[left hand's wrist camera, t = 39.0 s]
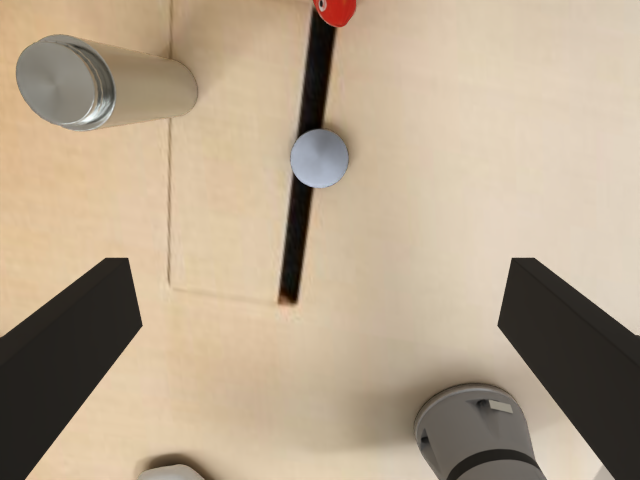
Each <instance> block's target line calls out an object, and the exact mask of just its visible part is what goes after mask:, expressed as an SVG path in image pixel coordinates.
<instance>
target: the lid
mask: <svg viewBox="0 0 640 480" xmlns="http://www.w3.org/2000/svg"><path fill="white" fill-rule="evenodd" d="M290 161H291V167H292V170H293V172H294V174H295V175H296V177H297V178H298V179H299V180H300V181H301V182H303V183H304V184H306V185H308V186H310V187H314V188H325V187H329V186H331V185H333V184H335V183H336V182H338V181H339V180H340V179H341V178H342V177H343V175H344V174H345V172H346V170H347V167H348V161H349V156H348V150H347V148H346V145H345V143H344V142H343V140H342V139H341V137H340V136H339V135H337V134H336V133H335V132H333V131H331V130H329V129H325V128H314V129H310V130H308V131H306V132H304V133H303V134H301V135H300V136H299V137H298V139H297V140H296V142H295V143H294V145H293V148H292V151H291V156H290Z"/></svg>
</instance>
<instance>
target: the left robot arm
mask: <svg viewBox="0 0 640 480" xmlns="http://www.w3.org/2000/svg"><path fill="white" fill-rule="evenodd" d="M142 326H143V325H142V320H141V316H140V311H139V306H138V302H137V297H136V292H135V288H134V283H133V278H132V274H131V269H130V264H129V260H128V258H105V259H104V260H102V261H101V262H100V263H98V264H97V265H96V266H94V267H93V268H92V269H90V270H89V271H88V272H87V273H85V274H84V275H83V276H81V277H80V278H79V279H77V280H76V281H75V282H73V283H72V284H71V285H70V286H68V287H67V288H66V289H64V290H63V291H62V292H60V293H59V294H58V295H56V296H55V297H54V298H53V299H51V300H50V301H49V302H47V303H46V304H45V305H43V306H42V307H41V308H39V309H38V310H37V311H36V312H34V313H33V314H32V315H30V316H29V317H28V318H26V319H25V320H24V321H22V322H21V323H20V324H19V325H17V326H16V327H15V328H13V329H12V330H11V331H9V332H8V333H7V334H6V335H4V336H3V337H0V480H25V479H26V477H27V476H28V475H29V474H30V472H31V471H32V470H33V468H34V467H35V466H36V464H37V463H38V462H39V460H40V459H41V458H42V457H43V455H44V454H45V453H46V451H47V450H48V449H49V447H50V446H51V445H52V443H53V442H54V441H55V440H56V438H57V437H58V436H59V434H60V433H61V432H62V430H63V429H64V428H65V426H66V425H67V424H68V423H69V421H70V420H71V419H72V417H73V416H74V415H75V413H76V412H77V411H78V409H79V408H80V407H81V406H82V404H83V403H84V402H85V400H86V399H87V398H88V396H89V395H90V394H91V392H92V391H93V390H94V389H95V387H96V386H97V385H98V383H99V382H100V381H101V379H102V378H103V377H104V375H105V374H106V373H107V372H108V370H109V369H110V368H111V366H112V365H113V364H114V362H115V361H116V360H117V358H118V357H119V356H120V355H121V353H122V352H123V351H124V349H125V348H126V347H127V345H128V344H129V343H130V342H131V340H132V339H133V338H134V336H135V335H136V334H137V332H138V331H139V330H140V328H141V327H142ZM497 326H498V327H499V328H500V330H501V331H502V332H503V334H504V335H505V336H506V338H507V339H508V340H509V342H510V343H511V344H512V345H513V347H514V348H515V349H516V351H517V352H518V353H519V355H520V356H521V357H522V358H523V360H524V361H525V362H526V364H527V365H528V366H529V368H530V369H531V370H532V372H533V373H534V374H535V375H536V377H537V378H538V379H539V381H540V382H541V383H542V385H543V386H544V387H545V389H546V390H547V391H548V392H549V394H550V395H551V396H552V398H553V399H554V400H555V402H556V403H557V404H558V406H559V407H560V408H561V409H562V411H563V412H564V413H565V415H566V416H567V417H568V419H569V420H570V421H571V423H572V424H573V425H574V426H575V428H576V429H577V430H578V432H579V433H580V434H581V436H582V437H583V438H584V440H585V441H586V442H587V443H588V445H589V446H590V447H591V449H592V450H593V451H594V453H595V454H596V455H597V457H598V458H599V459H600V460H601V462H602V463H603V464H604V466H605V467H606V468H607V470H608V471H609V472H610V473H611V475H612V476H613V477H614V479H615V480H640V336H639V335H634V334H633V333H632V332H631V331H629V330H628V329H627V328H625V327H624V326H623V325H621V324H620V323H619V322H618V321H616V320H615V319H614V318H612V317H611V316H610V315H608V314H607V313H606V312H604V311H603V310H602V309H601V308H599V307H598V306H597V305H595V304H594V303H593V302H591V301H590V300H589V299H587V298H586V297H585V296H584V295H582V294H581V293H580V292H578V291H577V290H576V289H574V288H573V287H572V286H570V285H569V284H568V283H567V282H565V281H564V280H563V279H561V278H560V277H559V276H557V275H556V274H555V273H553V272H552V271H551V270H550V269H548V268H547V267H546V266H544V265H543V264H542V263H540V262H539V261H538V260H536V259H535V258H512V260H511V264H510V269H509V274H508V278H507V283H506V288H505V292H504V297H503V302H502V306H501V311H500V316H499V320H498V325H497ZM414 433H415V437H416V441H417V444H418V447H419V449H420V451H421V453H422V455H423V457H424V458H425V460H426V461H427V463H428V464H429V466H430V467H431V469H432V470H433V472H434V473H435V475H436V476H437V477H438V479H439V480H547V479H546V477H545V476H544V474H543V473H542V471H541V469H540V468H539V466H538V464H537V462H536V460H535V456H534V452H533V448H532V443H531V439H530V434H529V430H528V425H527V421H526V419H525V416H524V414H523V412H522V410H521V408H520V407H519V405H518V404H517V402H516V401H515V399H514V398H513V397H512V396H511V395H510V394H508V393H507V392H506V391H504V390H502V389H500V388H497V387H495V386H491V385H486V384H464V385H459V386H455V387H452V388H449V389H446V390H444V391H442V392H440V393H438V394H437V395H435V396H434V397H432V398H431V399H430V400H429V401H428V402H426V403H425V405H424V406H423V407H422V408H421V409H420V411H419V413H418V415H417V417H416V420H415V424H414Z"/></svg>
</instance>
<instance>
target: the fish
mask: <svg viewBox="0 0 640 480" xmlns="http://www.w3.org/2000/svg"><path fill="white" fill-rule="evenodd" d="M313 2H314V4H315V7H316V9H317V11H318V13H319V15H320V17H321V18H322V19H323V20H324V21H325V22H326V23H327V24H329V25H332V26H334V27H343V26H345V25H346V24H347V22H348V21H349V20H350V18H351V17H352V16H353V15H354V13H355V11H356V0H313Z"/></svg>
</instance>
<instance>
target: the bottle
mask: <svg viewBox="0 0 640 480" xmlns="http://www.w3.org/2000/svg"><path fill="white" fill-rule="evenodd" d="M16 79H17V84H18V87H19V90H20V92H21V94H22V96H23V98H24V100H25V101H26V103H27V104H28V105H29V106H30V107H31V109H32V110H33V111H34V112H35V113H36V114H38V115H39V116H40V117H41V118H42V119H44V120H46V121H48V122H50V123H52V124H55V125H59V126H61V127H63V128H66V129H69V130H73V131H91V130H97V129H103V128H110V127H116V126H122V125H128V124H135V123H141V122H147V121H153V120H160V119H166V118H172V117H178V116H182V115H185V114H187V113H188V112H189V111H190V110H191V109H192V108H193V107H194V105H195V103H196V100H197V95H198V89H197V84H196V81H195V78H194V76H193V75H192V73H191V72H190V70H189V69H188V68H187V67H186V66H184V65H183V64H182V63H180V62H178V61H176V60H172V59H168V58H164V57H159V56H155V55H151V54H146V53H142V52H138V51H133V50H129V49H125V48H120V47H116V46H112V45H107V44H103V43H99V42H95V41H90V40H86V39H82V38H77V37H73V36H69V35H61V34H59V35H51V36H47V37H45V38H43V39H41V40H39V41H38V42H36V43H33V44H32V45H30V46H28V47H27V48H26V49H25V50H24V51H23V52H22V53H21V55H20V57H19V59H18V61H17V66H16Z"/></svg>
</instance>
